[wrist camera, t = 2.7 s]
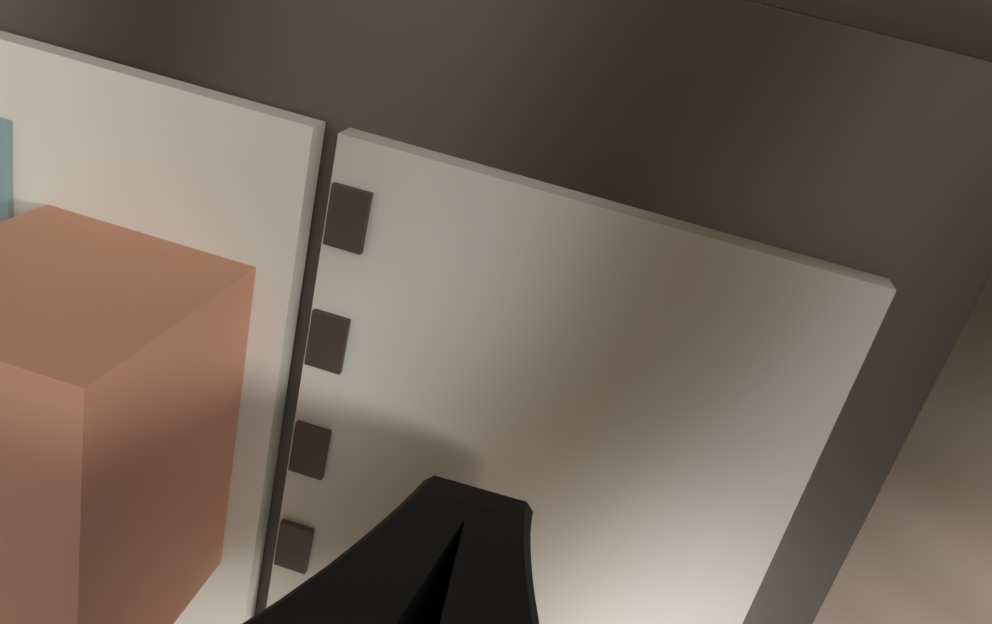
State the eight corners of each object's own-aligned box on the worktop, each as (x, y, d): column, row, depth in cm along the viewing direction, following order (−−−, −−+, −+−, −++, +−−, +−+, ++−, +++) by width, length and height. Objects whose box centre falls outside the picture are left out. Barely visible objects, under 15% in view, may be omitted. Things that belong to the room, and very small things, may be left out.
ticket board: (1030, 71, 10) (1105, 95, 8) (671, 822, 16) (669, 933, 14) (-518, -321, 12) (-726, -371, 10) (-345, 467, 18) (-460, 523, 16)
